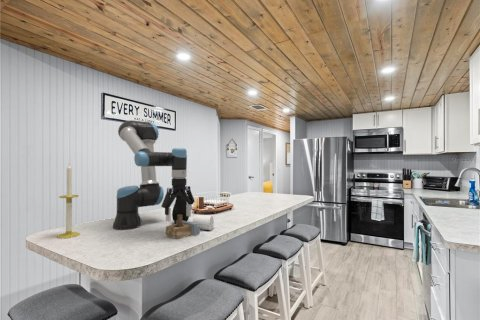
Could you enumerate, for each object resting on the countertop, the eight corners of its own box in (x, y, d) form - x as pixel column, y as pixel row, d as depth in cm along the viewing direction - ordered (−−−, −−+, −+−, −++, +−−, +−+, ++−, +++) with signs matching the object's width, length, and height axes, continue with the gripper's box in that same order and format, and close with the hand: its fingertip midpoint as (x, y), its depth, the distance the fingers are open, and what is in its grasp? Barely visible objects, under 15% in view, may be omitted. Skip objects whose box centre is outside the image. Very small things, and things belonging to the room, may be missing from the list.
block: (165, 235, 131) (166, 226, 131) (179, 231, 139) (179, 222, 139) (177, 239, 126) (177, 229, 126) (191, 234, 133) (191, 225, 133)
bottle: (192, 222, 160) (193, 174, 160) (180, 226, 151) (180, 175, 151) (180, 220, 165) (181, 174, 165) (168, 223, 157) (168, 175, 157)
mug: (209, 231, 140) (209, 217, 140) (192, 230, 142) (192, 216, 142) (215, 226, 151) (215, 213, 151) (199, 225, 153) (199, 212, 153)
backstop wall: (176, 231, 140) (176, 220, 140) (183, 229, 144) (183, 218, 144) (194, 235, 132) (194, 224, 132) (201, 233, 136) (201, 222, 136)
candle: (73, 238, 126) (73, 163, 126) (52, 238, 126) (52, 162, 126) (84, 232, 136) (84, 162, 136) (64, 232, 136) (65, 162, 136)
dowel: (175, 234, 132) (176, 214, 132) (179, 233, 134) (180, 214, 134) (178, 235, 131) (179, 215, 131) (182, 234, 133) (183, 215, 133)
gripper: (164, 179, 120) (163, 224, 120) (201, 177, 140) (200, 215, 140) (154, 178, 124) (153, 222, 124) (191, 176, 145) (191, 213, 145)
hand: (178, 218), depth 132 cm, fingers open, 13 cm apart
